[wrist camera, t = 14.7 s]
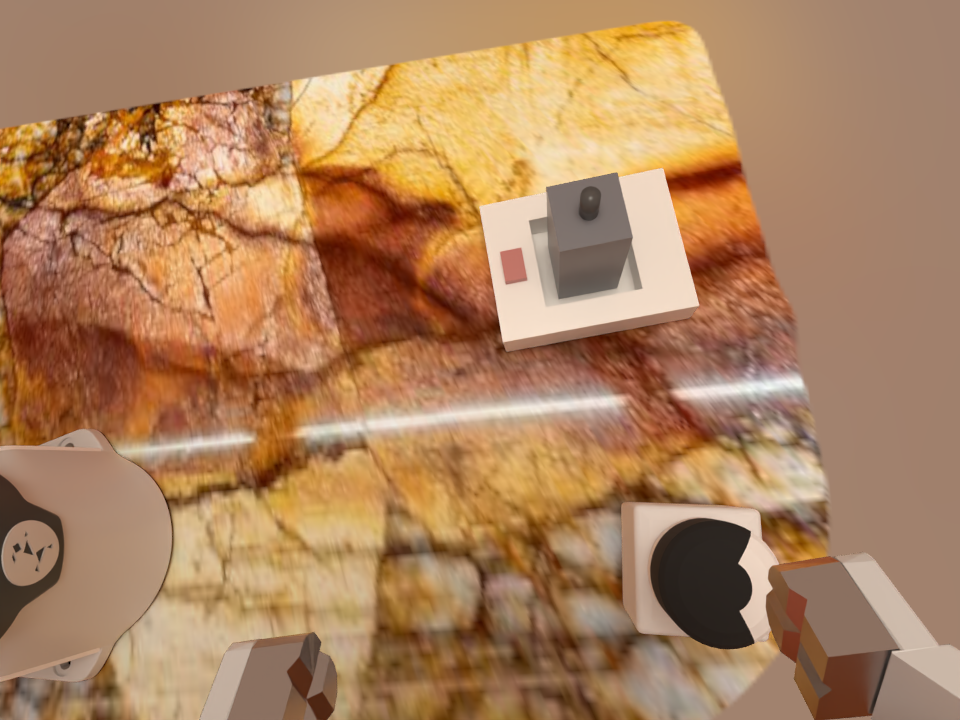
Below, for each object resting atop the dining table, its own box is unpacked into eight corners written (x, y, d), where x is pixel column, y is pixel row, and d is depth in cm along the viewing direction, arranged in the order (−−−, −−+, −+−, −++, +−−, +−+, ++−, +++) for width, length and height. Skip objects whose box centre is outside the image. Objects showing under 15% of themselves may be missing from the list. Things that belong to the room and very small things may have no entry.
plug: (558, 299, 43) (559, 238, 33) (547, 246, 44) (545, 170, 34) (617, 288, 43) (637, 222, 32) (604, 234, 44) (620, 154, 33)
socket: (506, 351, 44) (502, 340, 40) (484, 224, 46) (478, 202, 43) (689, 318, 42) (701, 302, 39) (655, 188, 45) (664, 163, 42)
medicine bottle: (622, 608, 39) (651, 660, 27) (620, 501, 40) (646, 506, 29) (731, 615, 38) (810, 672, 26) (725, 505, 39) (797, 512, 28)
